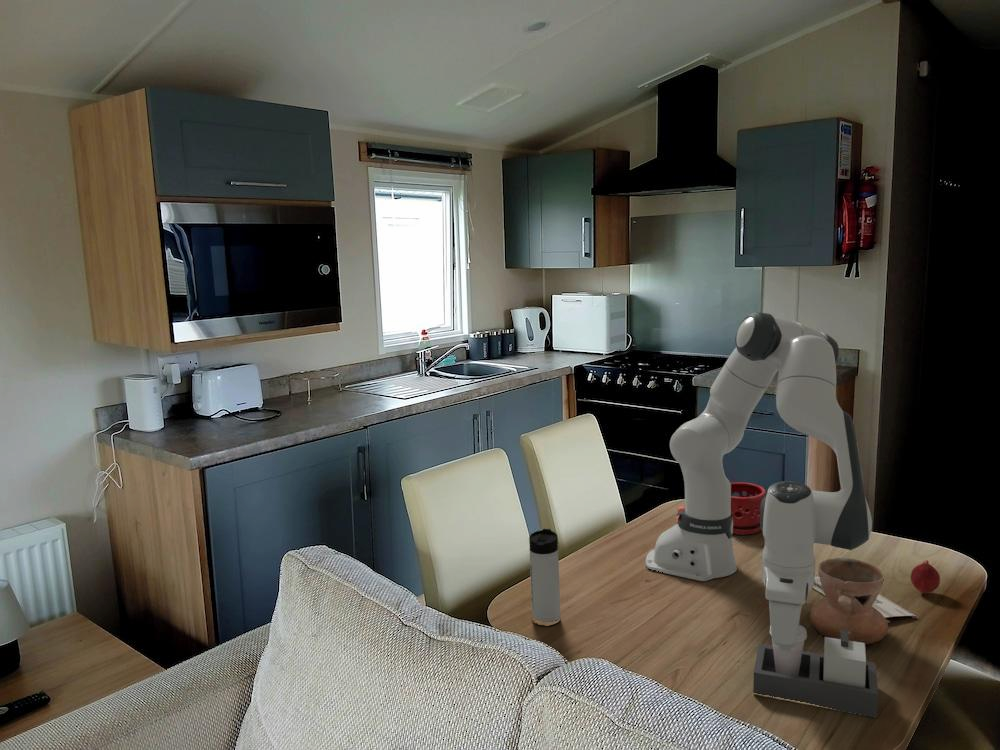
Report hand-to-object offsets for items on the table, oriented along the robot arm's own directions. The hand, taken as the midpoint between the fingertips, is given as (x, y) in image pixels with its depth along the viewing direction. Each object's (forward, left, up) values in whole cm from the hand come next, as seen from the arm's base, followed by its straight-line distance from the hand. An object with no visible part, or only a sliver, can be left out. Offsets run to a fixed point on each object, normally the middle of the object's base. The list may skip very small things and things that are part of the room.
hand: (786, 644), depth 137 cm
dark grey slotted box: (+5, +3, -8) cm, 10 cm away
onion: (+27, +48, -8) cm, 56 cm away
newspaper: (+13, +40, -9) cm, 43 cm away
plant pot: (-16, +76, -8) cm, 78 cm away
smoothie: (0, +1, -7) cm, 7 cm away
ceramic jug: (+11, +24, -8) cm, 28 cm away
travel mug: (-50, +9, -8) cm, 52 cm away
